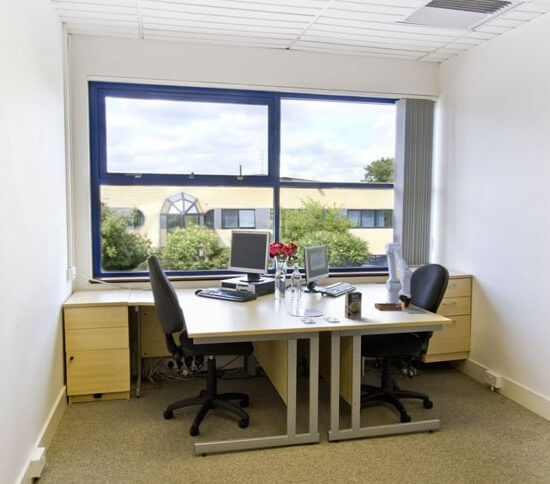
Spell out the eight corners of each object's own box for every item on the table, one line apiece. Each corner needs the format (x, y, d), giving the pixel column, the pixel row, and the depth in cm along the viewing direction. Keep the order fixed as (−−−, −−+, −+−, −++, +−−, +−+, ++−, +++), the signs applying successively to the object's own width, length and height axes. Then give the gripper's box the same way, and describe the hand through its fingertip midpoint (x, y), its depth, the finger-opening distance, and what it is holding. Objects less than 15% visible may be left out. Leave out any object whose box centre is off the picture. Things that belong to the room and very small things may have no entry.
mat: (403, 309, 333) (403, 309, 333) (420, 309, 334) (420, 308, 334) (409, 313, 321) (409, 312, 321) (427, 313, 322) (427, 312, 322)
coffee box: (347, 318, 306) (348, 293, 304) (344, 316, 312) (344, 291, 311) (361, 318, 307) (362, 293, 306) (357, 315, 314) (358, 291, 312)
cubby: (374, 306, 341) (374, 303, 341) (396, 306, 343) (396, 303, 343) (379, 310, 330) (379, 307, 329) (402, 310, 331) (402, 306, 331)
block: (401, 307, 340) (401, 301, 339) (408, 307, 340) (408, 301, 340) (403, 309, 335) (403, 303, 334) (410, 309, 335) (410, 303, 335)
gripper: (396, 285, 343) (396, 304, 344) (403, 288, 329) (403, 308, 330) (406, 285, 344) (405, 304, 345) (414, 288, 329) (413, 308, 330)
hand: (405, 306), depth 337 cm, fingers closed on block, 5 cm apart
